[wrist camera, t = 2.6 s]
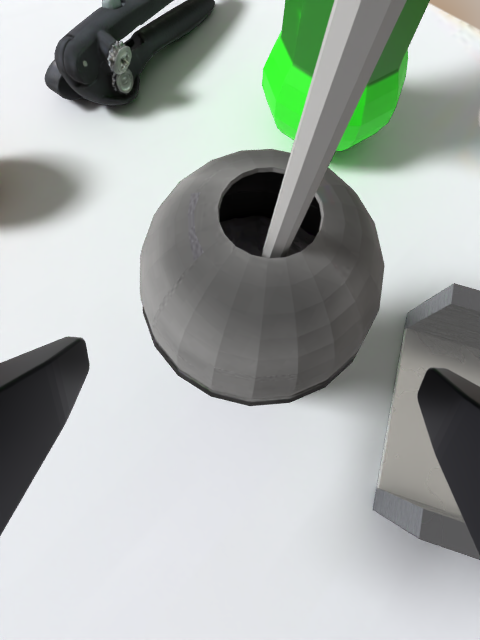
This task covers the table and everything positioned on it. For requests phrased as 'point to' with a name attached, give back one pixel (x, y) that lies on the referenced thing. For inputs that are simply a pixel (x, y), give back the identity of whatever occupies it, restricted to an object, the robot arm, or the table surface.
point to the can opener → (118, 48)
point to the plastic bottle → (301, 57)
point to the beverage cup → (273, 245)
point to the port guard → (409, 427)
